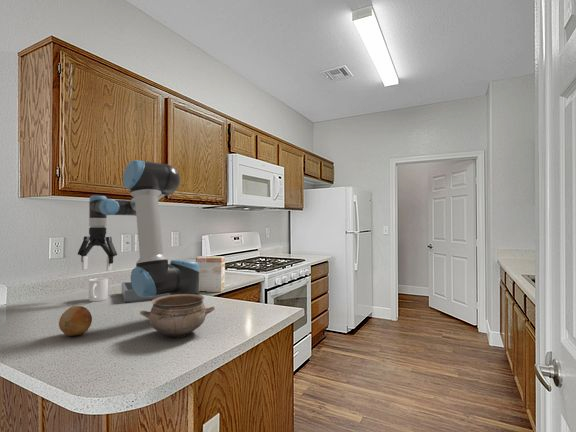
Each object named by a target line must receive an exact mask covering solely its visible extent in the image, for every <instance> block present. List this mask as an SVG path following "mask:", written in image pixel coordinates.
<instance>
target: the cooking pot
mask: <svg viewBox="0 0 576 432" xmlns="http://www.w3.org/2000/svg"><path fill="white" fill-rule="evenodd" d="M204 300H205V297H204V296H202V295H201V294H199V295H195V294H175V295H167V296H162V297H158V298H155V299H153V300H152V301H151V303H152V307H151V309H150V311H146V310H143V309H142V310H140V311H139V313H140V315H141V316H142V317H145V318H147V319H148V320H149V323H150V325H151V326H152V328H153V329H154V330H155V331H157V332H159V333H160V334H162V335H165V336H167V337H170V338H181V337H182V336H183V337H185V336H188V335H189V334H190V333H192V332H194V331H195V330H196V329H198V328H200V327H201V325H203V324H204V322H205V320H206V316H207V315H208V314H210V313H212V312H213V311H215V306H211V307H206V306H205V303H204ZM187 334H188V335H187Z"/></svg>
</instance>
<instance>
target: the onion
mask: <svg viewBox="0 0 576 432" xmlns="http://www.w3.org/2000/svg"><path fill="white" fill-rule="evenodd" d="M92 321H93V316H92V313H91V312H90V310H89V309H88V308H86V307H84V306H83V305H72V306H71V307H69V308H67V309H66V310H65V311H64V312H63V313H62V314H61V315H60V318H59V320H58V327H59V330H60V331H61V332H62V333H63V334H64V335H66V336H68V337H70V336H72V337H74V336H82V335H84V334H85V333H86V332H87V331H88V330H89V329H90V327H91V325H92V323H93V322H92Z"/></svg>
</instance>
